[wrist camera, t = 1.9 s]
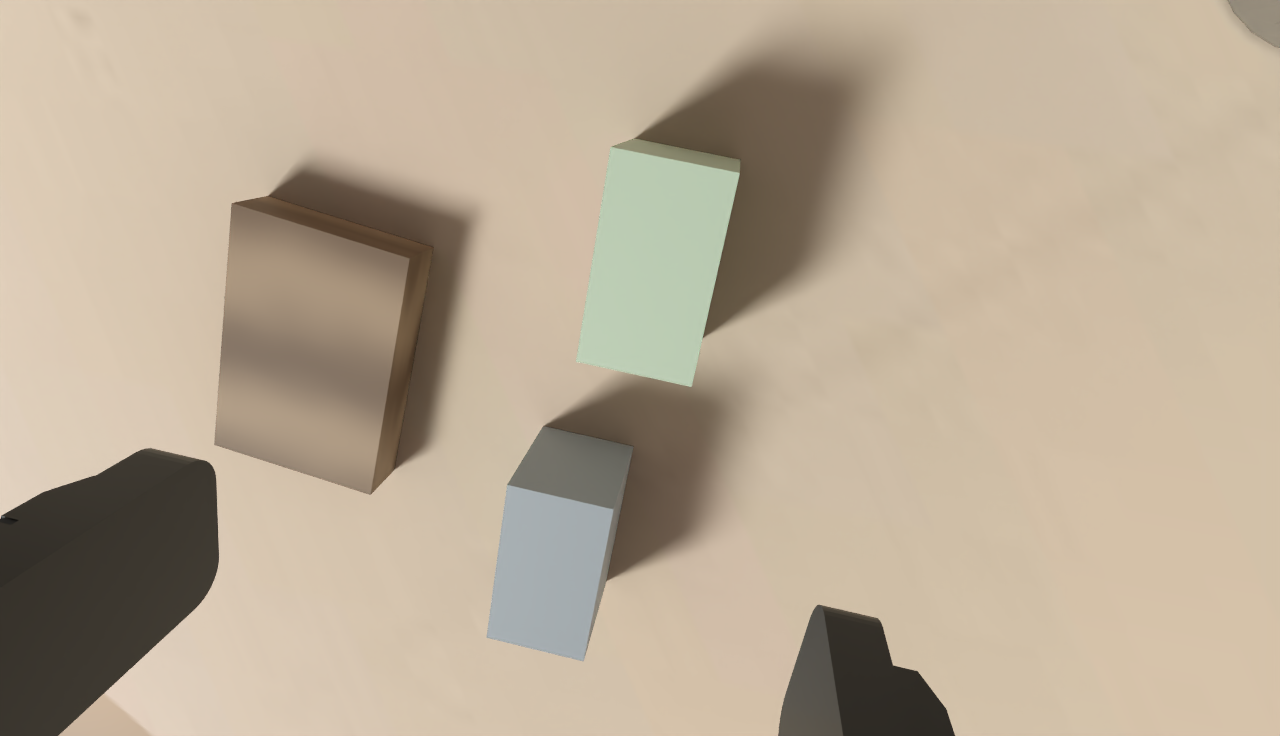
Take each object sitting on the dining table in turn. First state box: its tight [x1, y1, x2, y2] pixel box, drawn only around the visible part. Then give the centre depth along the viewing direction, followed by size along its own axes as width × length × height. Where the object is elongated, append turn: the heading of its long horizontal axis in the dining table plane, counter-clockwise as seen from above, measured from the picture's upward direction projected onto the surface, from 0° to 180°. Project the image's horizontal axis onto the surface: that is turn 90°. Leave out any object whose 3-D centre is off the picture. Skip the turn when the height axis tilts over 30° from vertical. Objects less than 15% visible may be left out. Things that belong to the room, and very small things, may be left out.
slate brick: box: [487, 426, 633, 661], centre depth 35 cm, size 8×4×6 cm, turn 170°
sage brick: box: [576, 138, 740, 387], centre depth 29 cm, size 8×4×6 cm, turn 170°
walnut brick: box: [214, 196, 433, 495], centre depth 35 cm, size 12×8×3 cm, turn 164°
